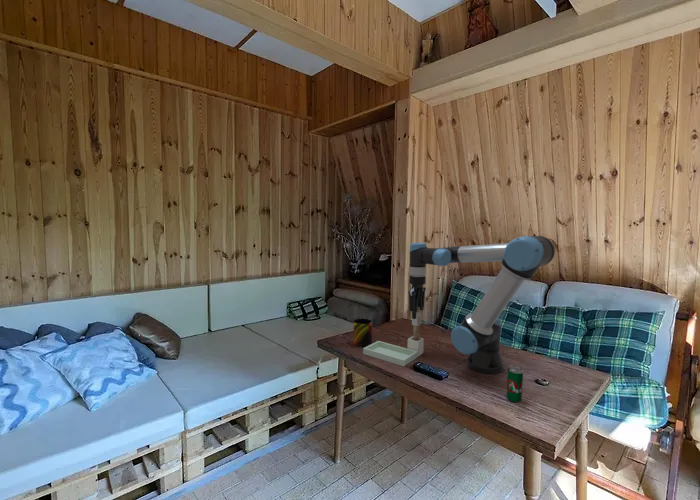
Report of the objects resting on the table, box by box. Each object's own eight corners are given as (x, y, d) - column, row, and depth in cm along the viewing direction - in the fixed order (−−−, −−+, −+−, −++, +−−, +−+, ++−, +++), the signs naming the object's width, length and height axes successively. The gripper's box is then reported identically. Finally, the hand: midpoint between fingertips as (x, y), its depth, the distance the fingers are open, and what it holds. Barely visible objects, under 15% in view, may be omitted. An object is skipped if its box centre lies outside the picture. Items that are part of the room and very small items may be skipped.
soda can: (517, 395, 127) (518, 364, 126) (524, 403, 122) (526, 370, 121) (503, 395, 127) (505, 364, 126) (510, 403, 122) (512, 370, 121)
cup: (423, 354, 165) (423, 338, 164) (417, 358, 160) (418, 341, 160) (412, 351, 168) (413, 335, 167) (407, 355, 164) (407, 339, 163)
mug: (359, 337, 188) (359, 315, 187) (375, 344, 177) (376, 322, 176) (345, 340, 183) (345, 318, 182) (360, 348, 171) (360, 325, 170)
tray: (417, 358, 160) (417, 351, 159) (403, 368, 149) (404, 360, 149) (378, 347, 173) (378, 340, 173) (363, 355, 163) (363, 348, 163)
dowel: (420, 341, 164) (421, 307, 162) (417, 343, 161) (418, 308, 160) (414, 340, 165) (415, 306, 164) (411, 342, 163) (412, 307, 162)
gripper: (418, 272, 169) (417, 319, 171) (402, 276, 157) (401, 326, 159) (432, 274, 165) (431, 321, 167) (416, 278, 152) (415, 330, 154)
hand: (416, 324), depth 163 cm, fingers closed on dowel, 3 cm apart
